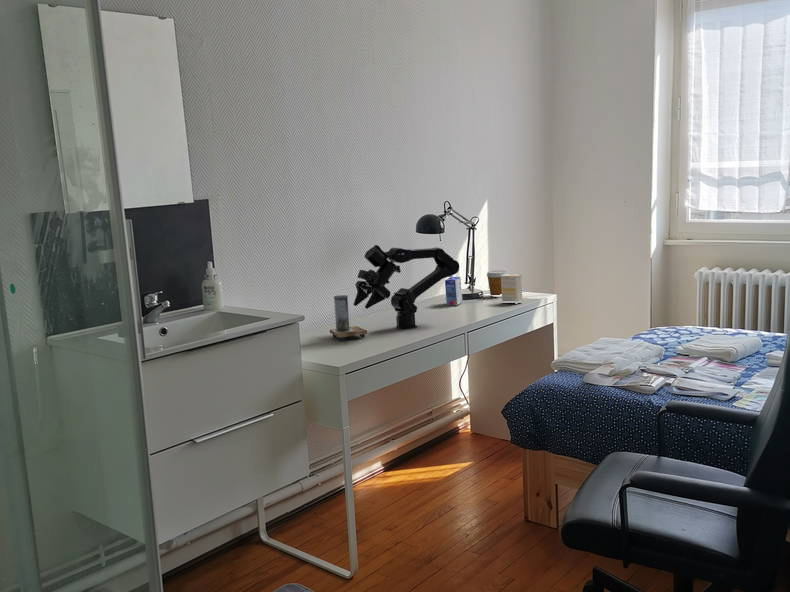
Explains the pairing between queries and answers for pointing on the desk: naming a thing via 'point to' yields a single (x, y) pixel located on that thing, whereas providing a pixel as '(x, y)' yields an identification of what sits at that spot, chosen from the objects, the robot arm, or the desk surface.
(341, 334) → the frame
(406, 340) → the desk surface
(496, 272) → the disposable coffee cup
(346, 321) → the canister
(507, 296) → the supplement box
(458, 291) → the ink cartridge box
